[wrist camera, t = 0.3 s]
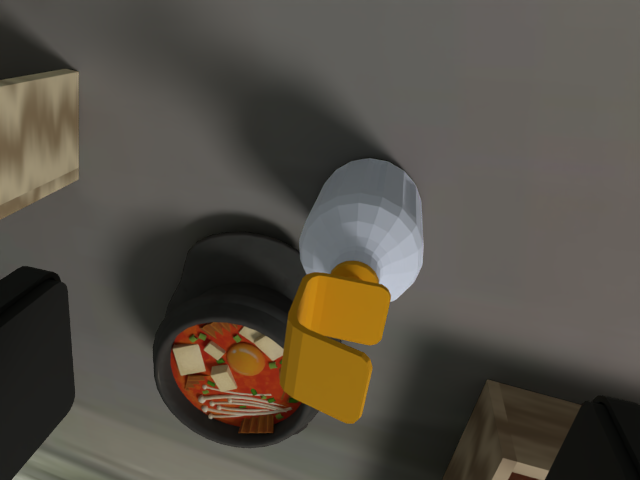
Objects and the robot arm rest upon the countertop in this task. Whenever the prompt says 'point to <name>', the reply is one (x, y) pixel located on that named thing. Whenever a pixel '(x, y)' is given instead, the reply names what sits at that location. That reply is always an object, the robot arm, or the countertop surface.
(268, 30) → the countertop surface
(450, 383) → the countertop surface
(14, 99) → the shelf
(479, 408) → the open wooden box
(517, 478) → the house
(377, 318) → the soap bottle
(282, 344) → the casserole
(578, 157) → the countertop surface
